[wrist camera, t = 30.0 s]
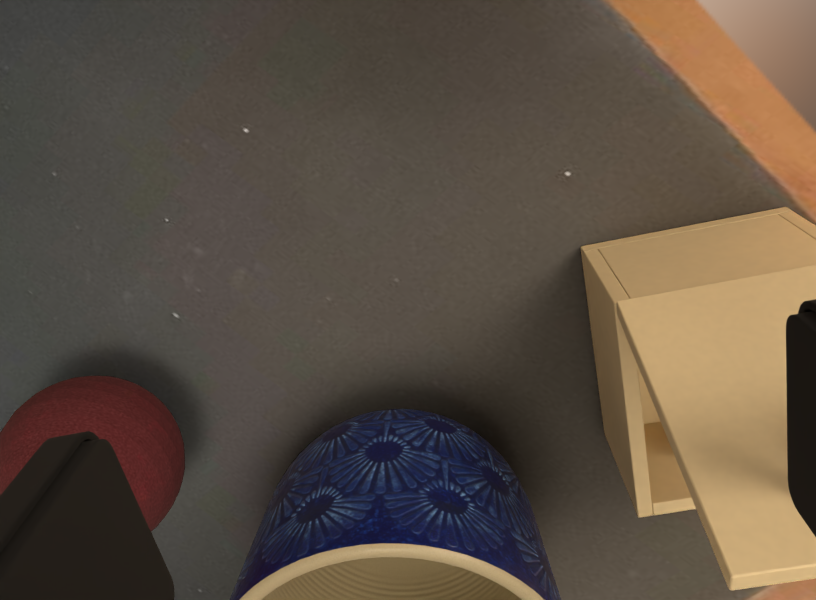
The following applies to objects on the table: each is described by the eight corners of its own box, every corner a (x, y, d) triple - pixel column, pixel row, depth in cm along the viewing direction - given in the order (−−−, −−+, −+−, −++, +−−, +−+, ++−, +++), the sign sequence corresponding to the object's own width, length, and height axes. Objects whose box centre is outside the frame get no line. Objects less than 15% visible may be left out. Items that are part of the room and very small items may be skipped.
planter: (401, 312, 43) (392, 475, 29) (589, 484, 47) (659, 696, 33) (216, 479, 48) (131, 687, 34) (402, 619, 52) (395, 854, 38)
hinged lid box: (788, 402, 44) (858, 484, 37) (604, 433, 46) (637, 518, 38) (786, 206, 40) (866, 256, 32) (579, 246, 41) (613, 303, 34)
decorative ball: (17, 361, 44) (-89, 461, 35) (173, 330, 43) (107, 425, 34) (81, 493, 48) (1, 614, 39) (226, 467, 47) (179, 585, 38)
